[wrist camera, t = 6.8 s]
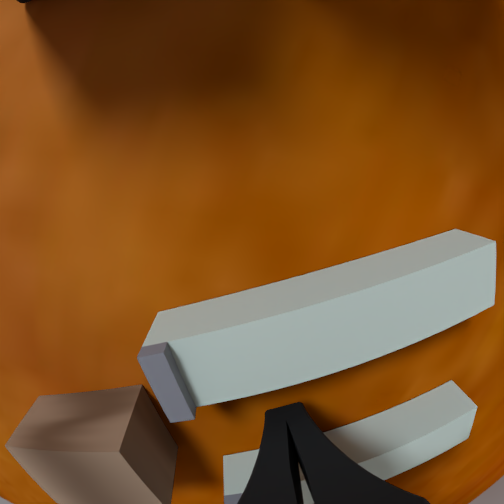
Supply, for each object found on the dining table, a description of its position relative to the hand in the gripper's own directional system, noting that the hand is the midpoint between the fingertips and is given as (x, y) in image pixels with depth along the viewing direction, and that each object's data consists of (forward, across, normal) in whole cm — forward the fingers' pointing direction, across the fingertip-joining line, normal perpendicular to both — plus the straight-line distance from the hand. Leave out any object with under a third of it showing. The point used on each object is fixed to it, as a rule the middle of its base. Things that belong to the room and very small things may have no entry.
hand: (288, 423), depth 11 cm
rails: (+2, -3, 0) cm, 3 cm away
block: (+2, +8, 0) cm, 8 cm away
